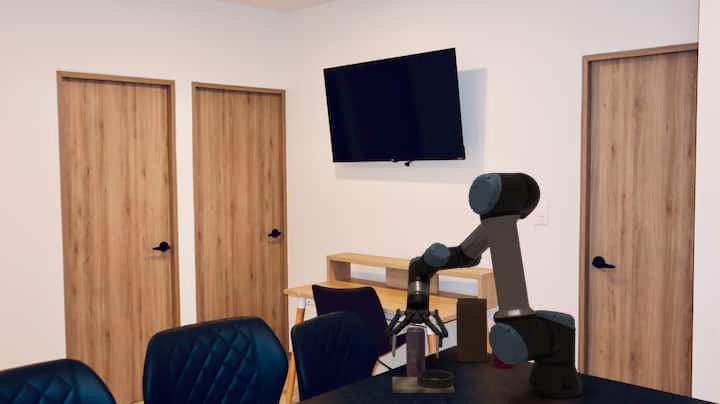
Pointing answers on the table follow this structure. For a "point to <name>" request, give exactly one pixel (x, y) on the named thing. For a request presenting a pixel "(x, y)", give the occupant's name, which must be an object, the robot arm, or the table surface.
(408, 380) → the band board
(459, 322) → the wooden block
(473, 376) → the table surface
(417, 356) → the beverage can
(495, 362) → the pepper mill
